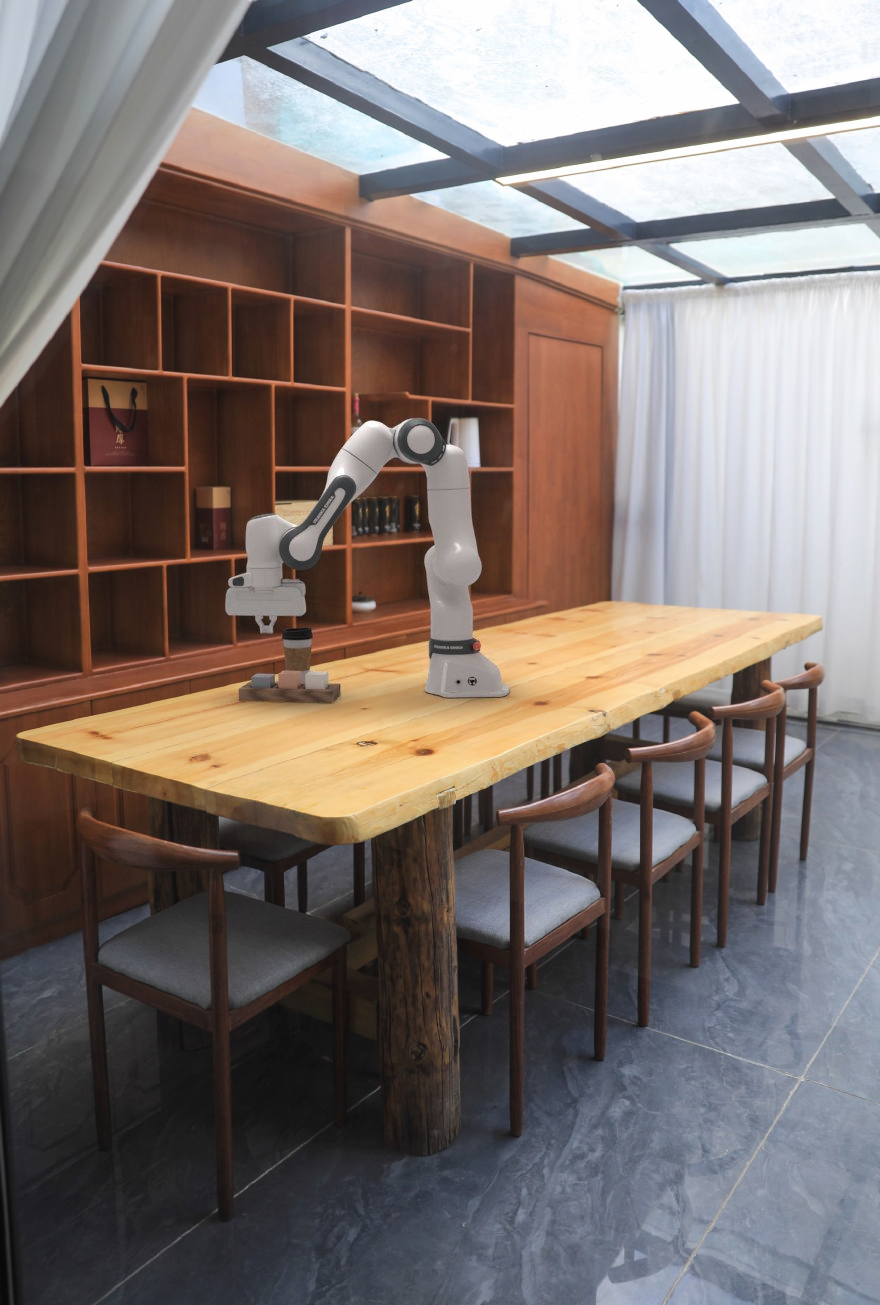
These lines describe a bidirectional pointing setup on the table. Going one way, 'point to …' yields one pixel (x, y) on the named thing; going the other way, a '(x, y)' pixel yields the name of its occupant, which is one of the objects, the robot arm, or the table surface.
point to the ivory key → (316, 680)
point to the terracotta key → (290, 679)
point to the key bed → (290, 694)
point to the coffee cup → (297, 649)
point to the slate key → (263, 681)
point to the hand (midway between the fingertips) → (266, 633)
